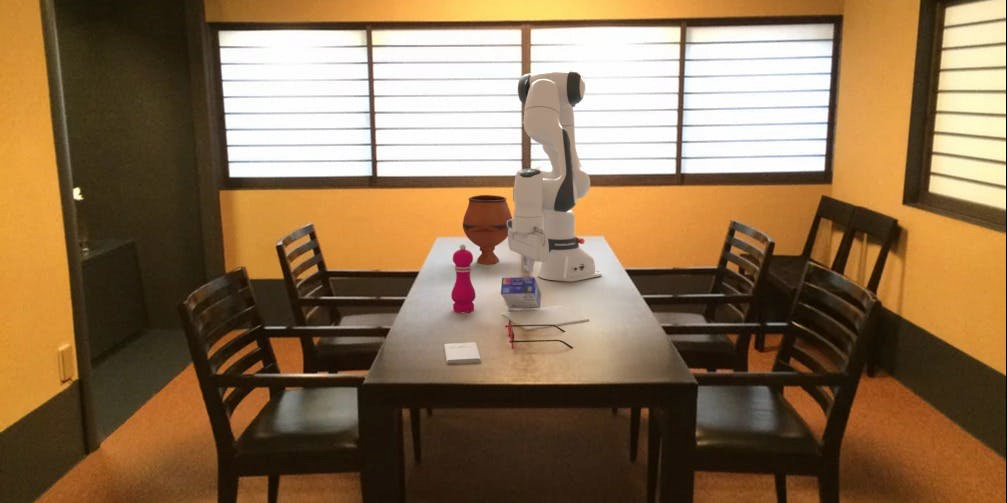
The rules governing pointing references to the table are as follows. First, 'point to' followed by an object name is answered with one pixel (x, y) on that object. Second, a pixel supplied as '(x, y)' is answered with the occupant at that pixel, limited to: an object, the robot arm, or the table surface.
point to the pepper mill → (463, 281)
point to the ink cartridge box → (521, 292)
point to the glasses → (529, 340)
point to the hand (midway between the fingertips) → (528, 270)
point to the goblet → (487, 224)
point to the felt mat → (544, 317)
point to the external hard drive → (462, 352)
